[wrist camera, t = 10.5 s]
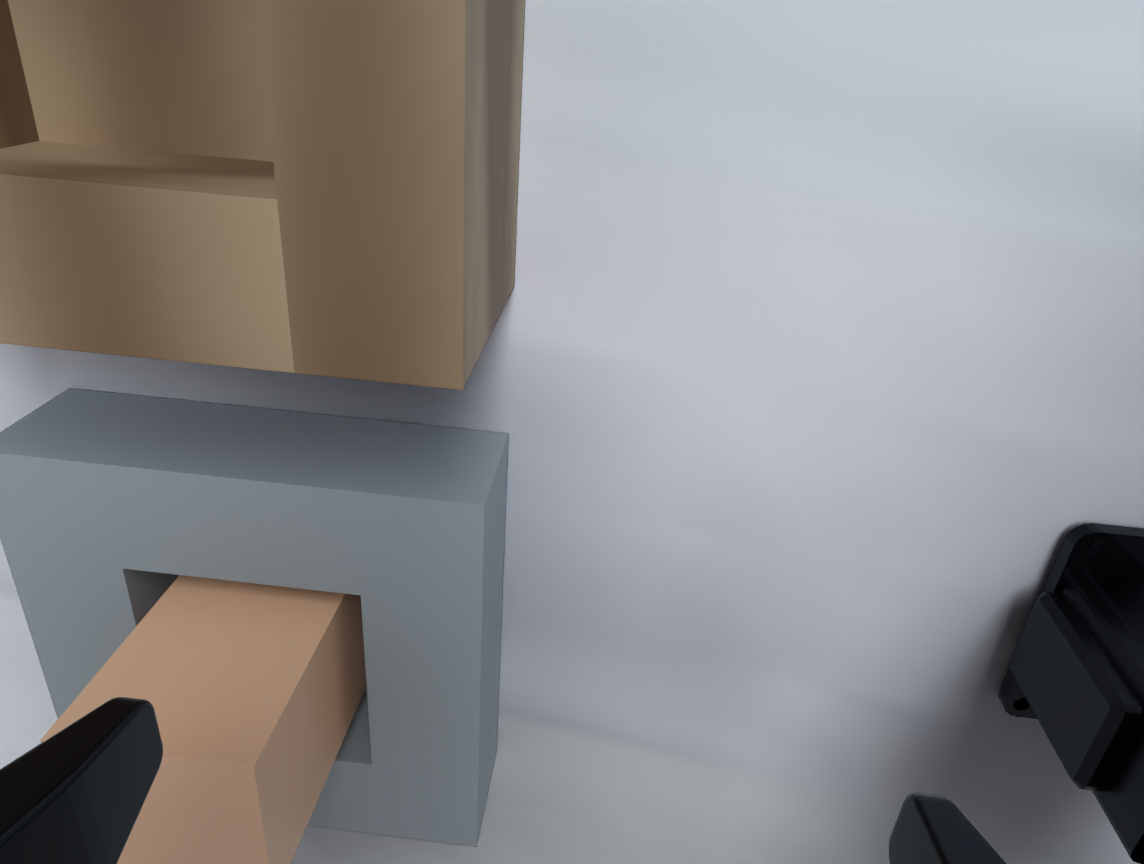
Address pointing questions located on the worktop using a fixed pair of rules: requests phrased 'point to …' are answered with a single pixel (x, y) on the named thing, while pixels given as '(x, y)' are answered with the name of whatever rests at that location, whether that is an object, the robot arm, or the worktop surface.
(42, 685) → the worktop surface
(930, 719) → the worktop surface
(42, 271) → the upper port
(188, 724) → the plug
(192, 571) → the frame
